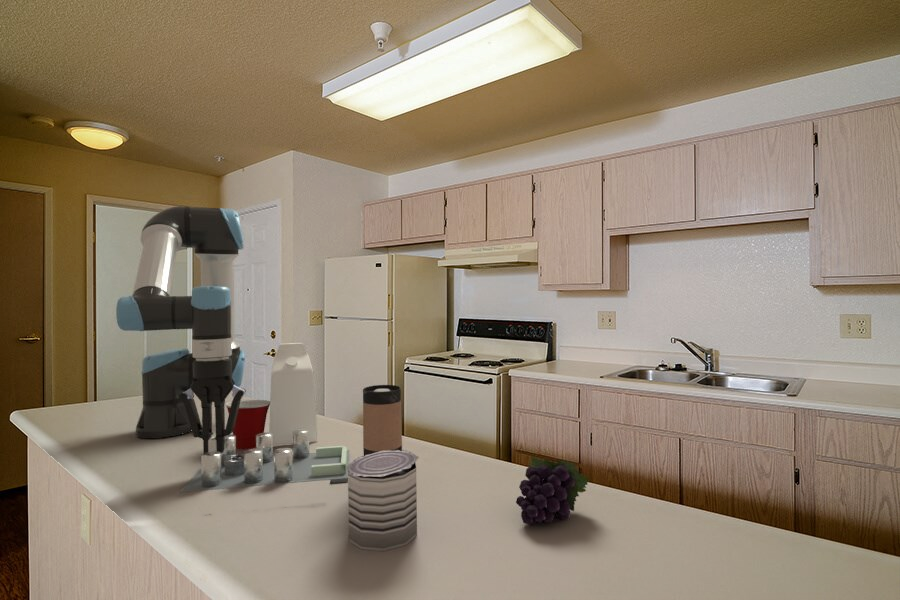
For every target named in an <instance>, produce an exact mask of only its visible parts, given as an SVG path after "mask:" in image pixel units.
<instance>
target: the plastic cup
mask: <svg viewBox="0 0 900 600" xmlns="http://www.w3.org/2000/svg"><path fill="white" fill-rule="evenodd" d="M231 404H232V401H229V402H225V404H224V406H225V407H226V409H227V412H228V413H229V412H230V408H231ZM269 409H270V400H266V399H265V400H264V399H243V400H242V399H241V401H240V405H239V410H238V414H237V418H236V422H235V427H234V430H233V432H232V435H235V436H236V450H244V451H245V450H249V449H256V435H257V434H259V433H265V427H266V421H267V414H268V411H269Z"/></svg>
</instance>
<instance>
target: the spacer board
mask: <svg viewBox="0 0 900 600" xmlns="http://www.w3.org/2000/svg"><path fill="white" fill-rule="evenodd" d="M341 457H342V456H329V457H316V452H309V457H307V458H304V459H294V458H293V453H292V462H293V479H292V480H291V481H289V482H286V483H276V482H274V455H273V461H271V462H268V463H263V480H262V481H261V482H258V483H254V484H246V483H244V474H241V475H237V476H230V475H225V466H221V475H222V483H221V484H220V485H217V486H214V487H202V473H201V468H200V469H199V470H198V471H197V472H196V473H195V474H194V475H193V477H191V479H190V480H189V481H187V483H186V484H185V486H183V487H182V489H180V490H179V493H190V492H197V491H198V492H201V491H210V490H224V489H233V488H234V489H236V488H237V489H238V488H247V487H248V488H249V487H256V486H257V487H259V486H272V485H280V484H281V485H282V484H283V485H284V484H294V483H306V482H317V481H329V484H336V483H337V484H339V483H348V471H347V470H346V474H336V475H324V476H312V477H311V466H312V465H322V464H335V463H341ZM349 464H350V450H348V449H347V461H346V467H347V466H348V465H349Z"/></svg>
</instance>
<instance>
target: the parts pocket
mask: <svg viewBox="0 0 900 600" xmlns="http://www.w3.org/2000/svg"><path fill="white" fill-rule="evenodd" d="M347 450H348V446H347V445H335V446H333V445H332V446H321V447H319V446H318V447H316V448H315V453H316V457H329V456H342V457H341V463H335V464H322V465H312V466H311V477H312V476H324V475H336V474H346V469H345V468H346V461H347Z"/></svg>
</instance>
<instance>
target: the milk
mask: <svg viewBox="0 0 900 600" xmlns="http://www.w3.org/2000/svg"><path fill="white" fill-rule="evenodd" d="M305 346H306V345H304V343H303V342H294V343H293V342H292V343H279V345H278V348H277V350H276V352H275V356H274V359H273V363H272V366H271V374H270V376H271V377H270V391H269V392H270V397H269V401H270V405H269V422H268V423H269V428H268V429H269V430H268V432H270V433H273V447H280V446H282V447H283V446H289V445H293V431H295V430H298V429H308V430H309V443H315V442H319V440H318V439H319V438H318V422H317V420H318V419H317V405H316V387H315V374H314V369H313V365H312V362H311V358H310V355H309V353H308V350H307V347H305Z"/></svg>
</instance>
